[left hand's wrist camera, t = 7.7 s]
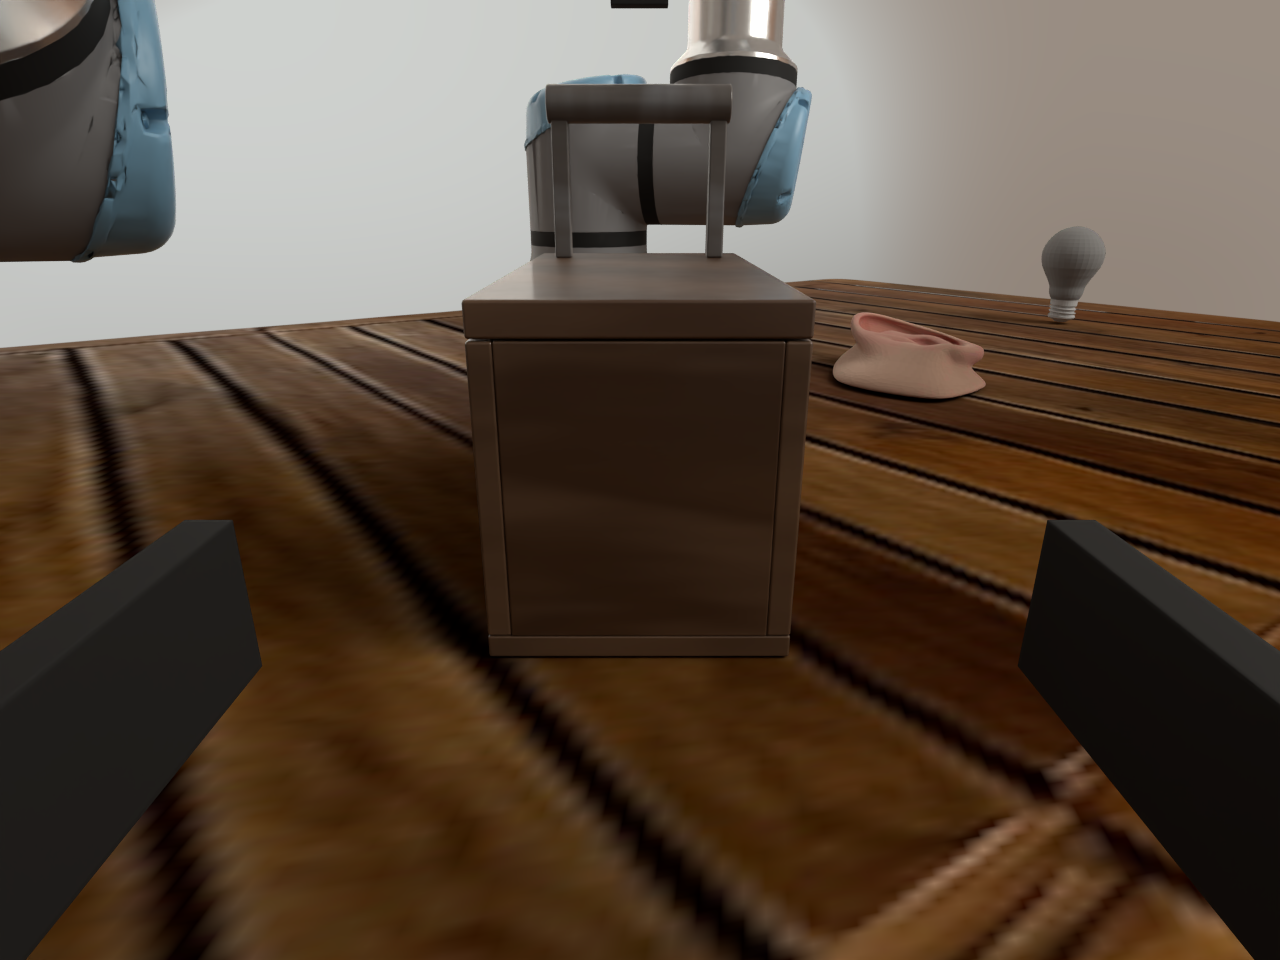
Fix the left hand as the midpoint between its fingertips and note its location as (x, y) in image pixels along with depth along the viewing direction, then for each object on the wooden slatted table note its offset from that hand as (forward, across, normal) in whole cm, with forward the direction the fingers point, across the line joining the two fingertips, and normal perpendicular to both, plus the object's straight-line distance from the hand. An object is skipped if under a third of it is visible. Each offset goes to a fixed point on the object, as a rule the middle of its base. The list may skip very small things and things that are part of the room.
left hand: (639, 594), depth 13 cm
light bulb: (+74, +47, -7) cm, 88 cm away
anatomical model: (+46, +20, -7) cm, 51 cm away
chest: (+17, 0, -7) cm, 19 cm away
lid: (+18, 0, +3) cm, 18 cm away
